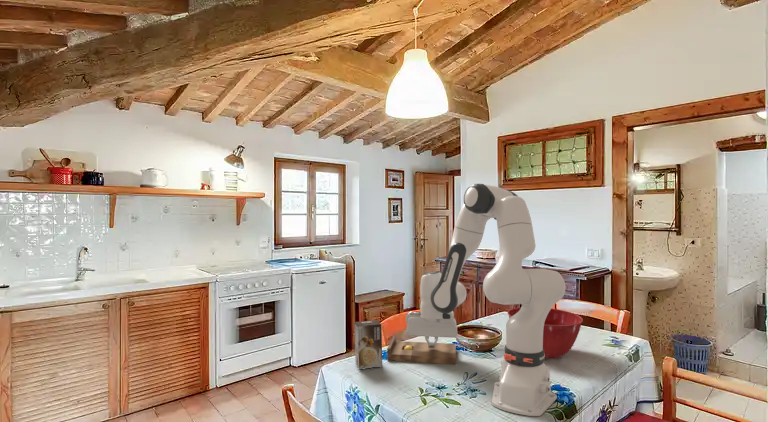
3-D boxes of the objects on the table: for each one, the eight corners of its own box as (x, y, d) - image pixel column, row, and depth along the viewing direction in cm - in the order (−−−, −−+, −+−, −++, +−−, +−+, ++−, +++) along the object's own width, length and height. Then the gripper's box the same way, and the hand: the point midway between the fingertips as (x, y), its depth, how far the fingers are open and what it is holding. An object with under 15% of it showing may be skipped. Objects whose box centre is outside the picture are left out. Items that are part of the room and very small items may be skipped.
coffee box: (378, 361, 156) (378, 319, 156) (382, 367, 149) (382, 324, 149) (354, 364, 153) (354, 321, 153) (358, 370, 147) (358, 326, 147)
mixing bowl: (568, 342, 177) (568, 306, 177) (595, 367, 148) (595, 325, 148) (501, 340, 180) (501, 305, 180) (516, 365, 151) (516, 323, 151)
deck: (455, 349, 168) (455, 339, 168) (455, 364, 152) (455, 352, 152) (393, 346, 172) (393, 336, 172) (387, 360, 157) (387, 348, 157)
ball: (412, 349, 161) (403, 348, 161) (412, 356, 162) (403, 355, 162) (413, 344, 164) (404, 343, 165) (413, 351, 165) (404, 350, 166)
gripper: (404, 313, 160) (404, 348, 160) (457, 315, 157) (457, 351, 156) (406, 309, 166) (406, 343, 166) (457, 311, 163) (457, 346, 163)
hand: (431, 347), depth 161 cm, fingers closed
